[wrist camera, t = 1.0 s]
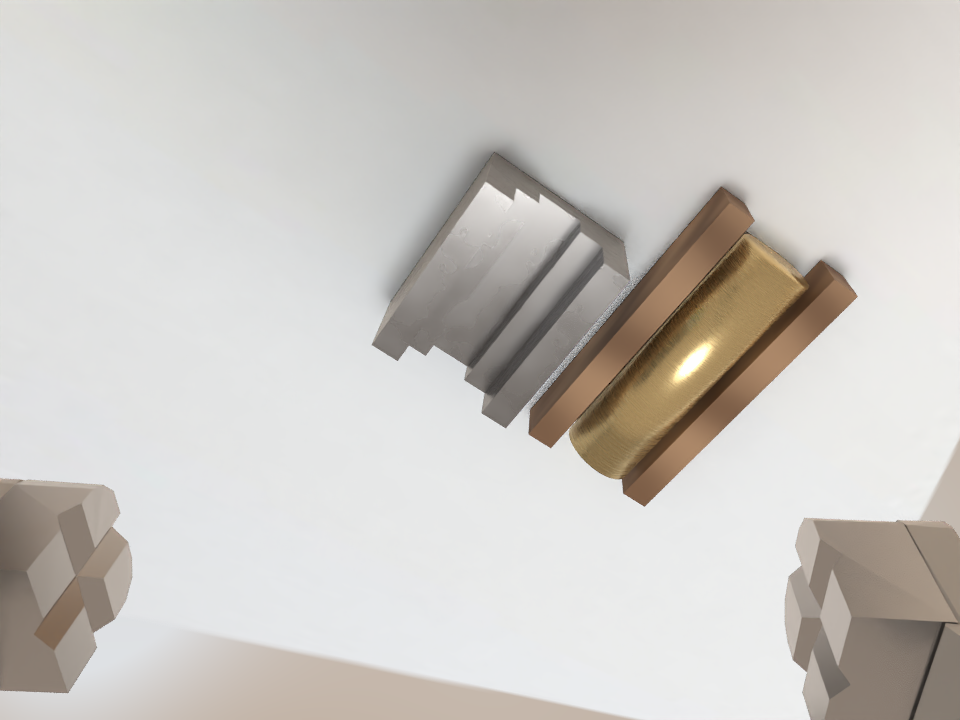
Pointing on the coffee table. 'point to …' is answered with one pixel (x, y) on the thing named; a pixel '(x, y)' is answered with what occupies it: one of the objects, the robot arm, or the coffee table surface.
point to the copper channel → (649, 311)
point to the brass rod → (687, 356)
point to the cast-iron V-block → (507, 287)
